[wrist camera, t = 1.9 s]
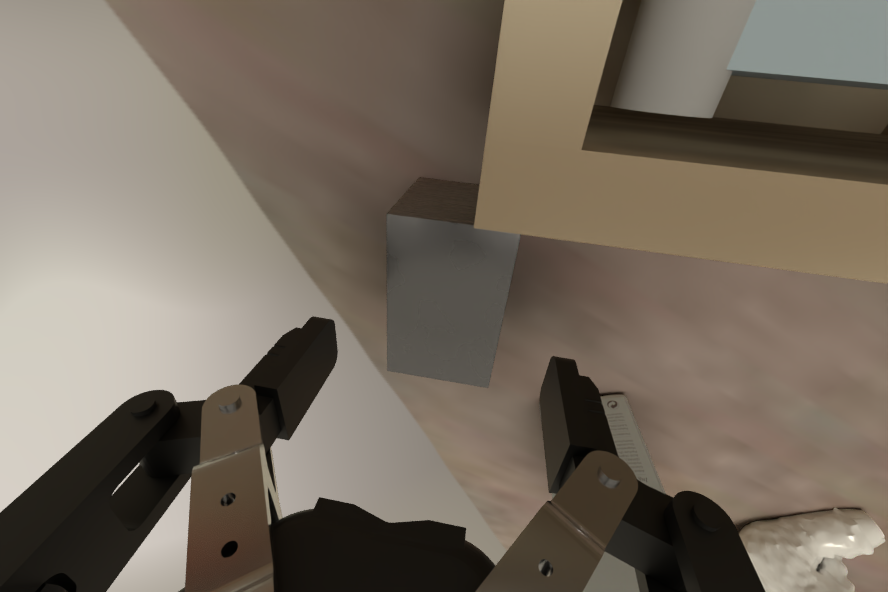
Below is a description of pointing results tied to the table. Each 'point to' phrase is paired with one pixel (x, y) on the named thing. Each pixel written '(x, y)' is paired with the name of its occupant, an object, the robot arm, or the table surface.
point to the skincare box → (613, 578)
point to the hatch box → (678, 155)
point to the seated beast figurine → (809, 549)
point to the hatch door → (747, 49)
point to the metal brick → (445, 284)
